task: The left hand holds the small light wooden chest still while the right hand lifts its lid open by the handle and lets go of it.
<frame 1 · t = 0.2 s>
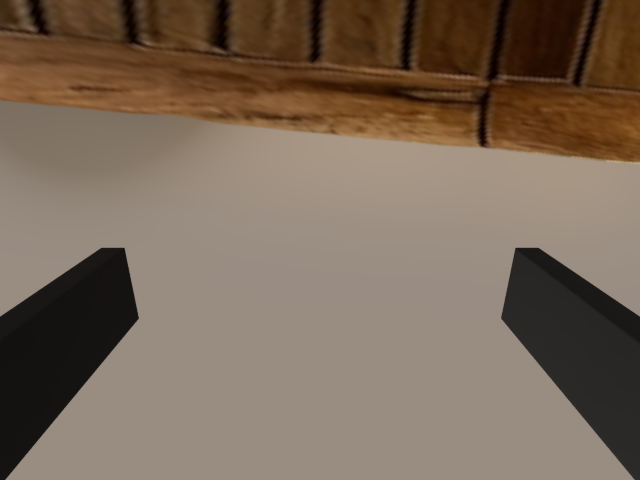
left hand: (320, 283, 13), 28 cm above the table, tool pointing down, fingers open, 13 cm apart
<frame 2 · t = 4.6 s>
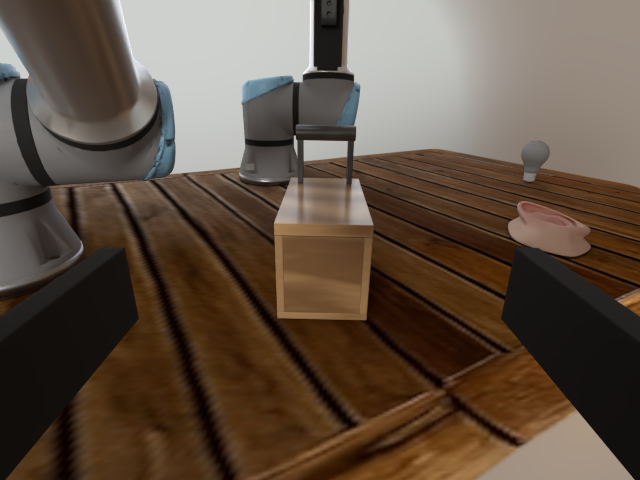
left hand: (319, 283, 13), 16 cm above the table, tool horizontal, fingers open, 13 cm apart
lid: (325, 170, 41), point 13 cm above the table, hinge at 0.0°
anatomical model: (546, 239, 58), on the table
light bulb: (528, 182, 93), on the table
chest: (322, 278, 46), on the table
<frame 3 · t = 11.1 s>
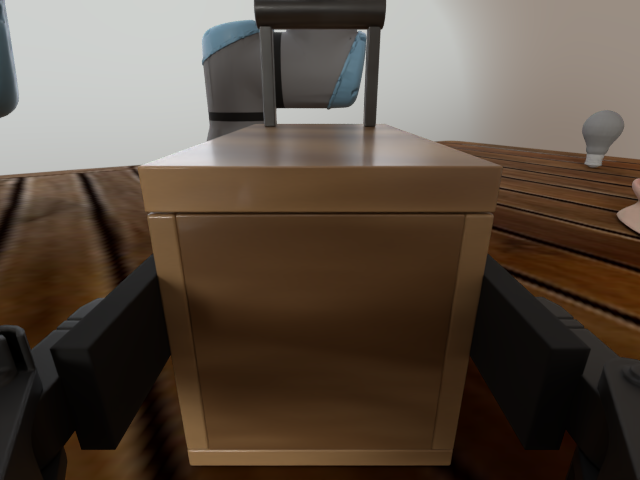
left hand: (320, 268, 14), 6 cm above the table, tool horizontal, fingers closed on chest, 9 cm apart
lid: (320, 65, 16), point 13 cm above the table, hinge at 0.0°
light bulb: (592, 167, 69), on the table
chest: (320, 325, 21), on the table, touching left hand
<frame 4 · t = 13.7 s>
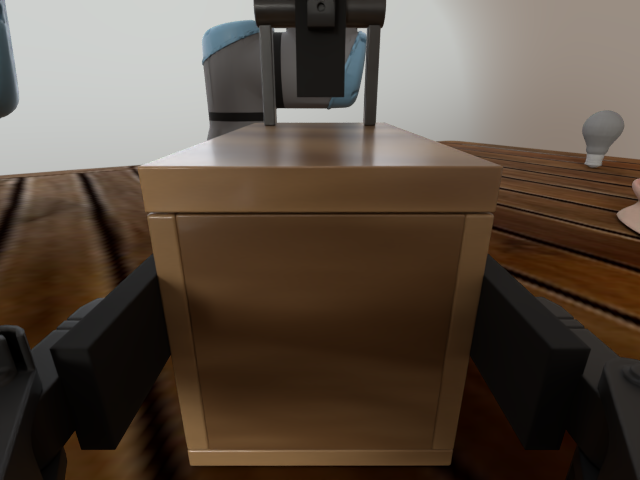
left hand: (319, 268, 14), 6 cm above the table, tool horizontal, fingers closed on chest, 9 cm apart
lid: (319, 64, 16), point 13 cm above the table, hinge at 0.2°, touching right hand
light bulb: (592, 168, 69), on the table
chest: (320, 325, 21), on the table, touching left hand
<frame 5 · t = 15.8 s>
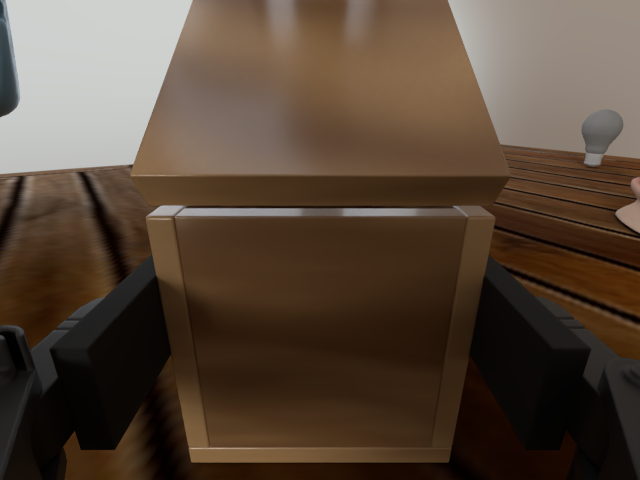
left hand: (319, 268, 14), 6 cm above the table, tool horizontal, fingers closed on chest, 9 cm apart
light bulb: (591, 167, 69), on the table
chest: (319, 321, 21), on the table, touching left hand
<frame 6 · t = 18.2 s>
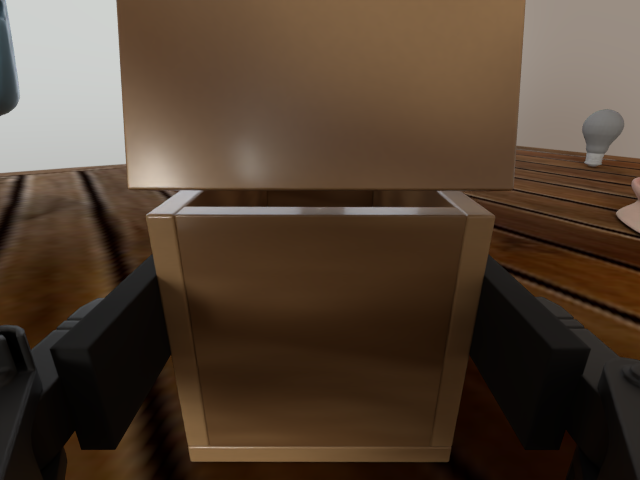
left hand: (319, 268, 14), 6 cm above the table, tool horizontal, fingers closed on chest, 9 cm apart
light bulb: (591, 166, 69), on the table
chest: (319, 321, 21), on the table, touching left hand
when the left hand's fingers open (6 cm above the table, at t = 22.4 s): chest stays where it is, on the table.
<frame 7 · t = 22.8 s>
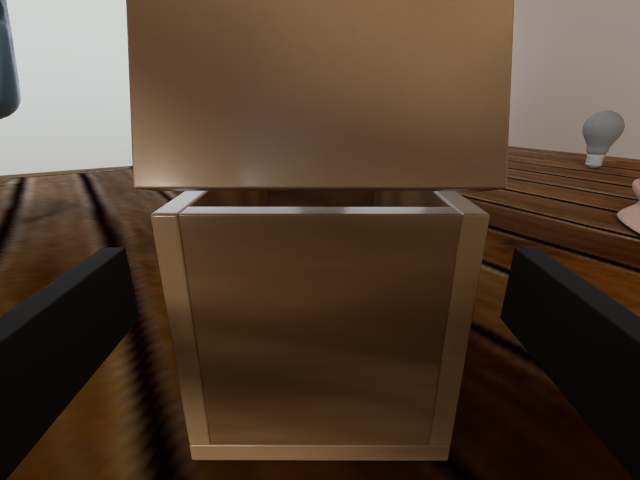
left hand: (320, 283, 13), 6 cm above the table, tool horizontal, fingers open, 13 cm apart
light bulb: (592, 168, 69), on the table
chest: (320, 323, 21), on the table
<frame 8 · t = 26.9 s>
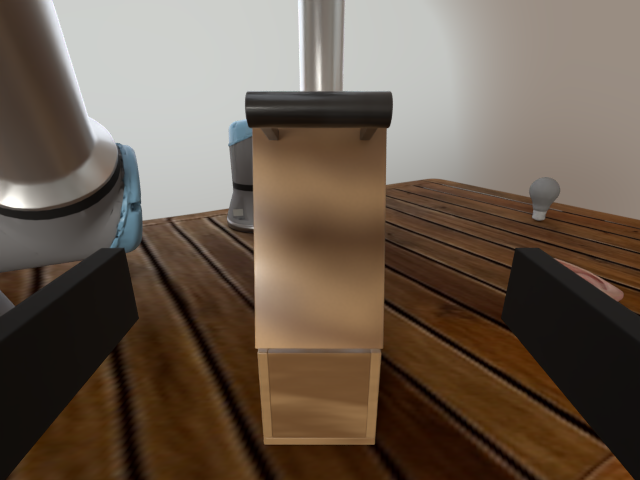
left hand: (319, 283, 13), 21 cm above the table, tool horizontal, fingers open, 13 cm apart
lid: (319, 226, 23), point 19 cm above the table, hinge at 73.8°
anatomical model: (571, 302, 52), on the table
light bulb: (537, 220, 86), on the table
chest: (319, 372, 38), on the table
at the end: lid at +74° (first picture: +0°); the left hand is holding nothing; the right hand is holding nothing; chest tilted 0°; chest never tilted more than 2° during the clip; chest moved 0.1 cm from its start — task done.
